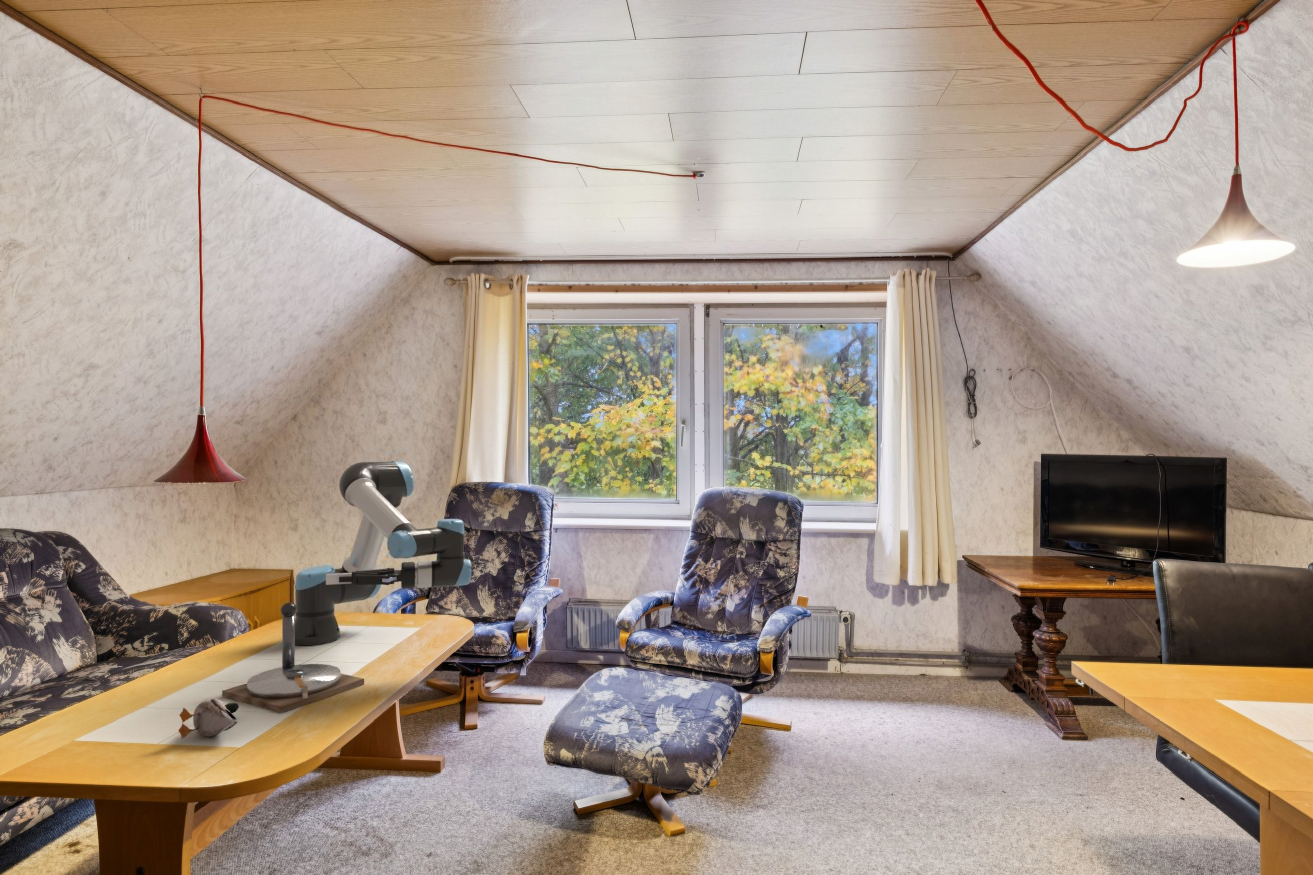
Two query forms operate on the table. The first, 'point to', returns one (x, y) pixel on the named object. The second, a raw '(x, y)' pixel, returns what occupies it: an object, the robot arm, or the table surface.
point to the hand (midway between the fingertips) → (326, 579)
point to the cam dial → (292, 668)
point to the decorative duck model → (210, 718)
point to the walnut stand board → (292, 702)
